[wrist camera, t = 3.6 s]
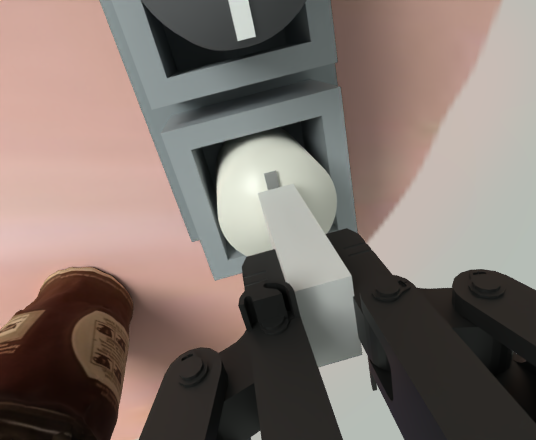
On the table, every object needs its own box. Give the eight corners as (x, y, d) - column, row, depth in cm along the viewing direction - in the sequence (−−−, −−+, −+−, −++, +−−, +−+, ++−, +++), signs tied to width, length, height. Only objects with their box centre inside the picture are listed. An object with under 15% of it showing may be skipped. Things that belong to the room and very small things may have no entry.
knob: (204, 136, 19) (201, 171, 13) (295, 113, 19) (329, 137, 13) (229, 218, 21) (236, 276, 16) (310, 197, 21) (344, 246, 16)
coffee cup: (143, 247, 23) (78, 441, 12) (161, 339, 27) (124, 555, 15) (3, 258, 22) (-226, 485, 10) (41, 352, 26) (-98, 598, 14)
